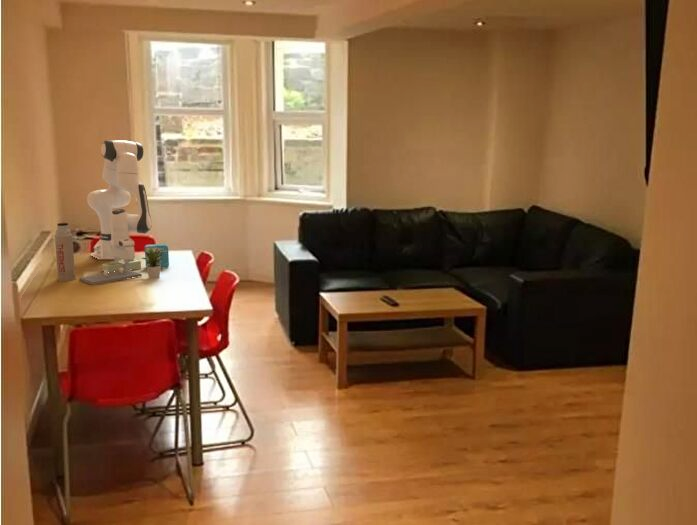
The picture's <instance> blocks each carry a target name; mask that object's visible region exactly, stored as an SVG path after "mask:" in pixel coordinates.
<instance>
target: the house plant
mask: <svg viewBox="0 0 697 525" xmlns="http://www.w3.org/2000/svg"><path fill="white" fill-rule="evenodd" d="M158 247H159V246H158ZM161 249H162V248H161ZM161 249H160V250H159V251H158V252H157V250H158V248H157V249H156V250H155V252H154V255H153V249H152V246H151V248H149V250H148V251H149V252H150V253H148V252H145V249H143V250H142V251H143V254H144V255H145V254H146V255H147V256H148V259H149V260H150V261H149V260H147V259H146V258H145V257H141V258H140V259H142V260H146V261H145V264H146V263H149V264H150V265H147V266H146V265H145V267H146V268H145V269H146V271H147V276H148V279H150V280H156V279H160V276H161V269H162V268H161V265H159V264H158V263H159V262H158V261H161V262H162V260H163V258H164V257H163V258H162V259H160V258H159V259H158V257H160V256H162V255H164V254H161V255H159V254H160V253H161V252H160V251H161ZM164 251H165V250H164ZM162 253H163V251H162ZM166 254H169V252H168V253H166ZM157 259H158V260H157Z"/></svg>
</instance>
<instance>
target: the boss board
mask: <svg viewBox="0 0 697 525" xmlns="http://www.w3.org/2000/svg"><path fill="white" fill-rule="evenodd" d="M138 276H142V277H143V275H142V273H141V272H138V271H134V270H123V268H119V271H115V272H109V273H108V271H107V270H104V272H102V273H99V274H92V275H86V276H81V277H80V276H79V277H78V279H79V281H80V282H83V283H85V284H89V285H92V286H97V285H102V283H103V284H107V283H108V282H109V283H113V281H114V282H118V281H117V280H120V281H123V280H122V279H125V280H128V279H127V278H131V279H133V278H132V277H136V278H139V277H138Z"/></svg>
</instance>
